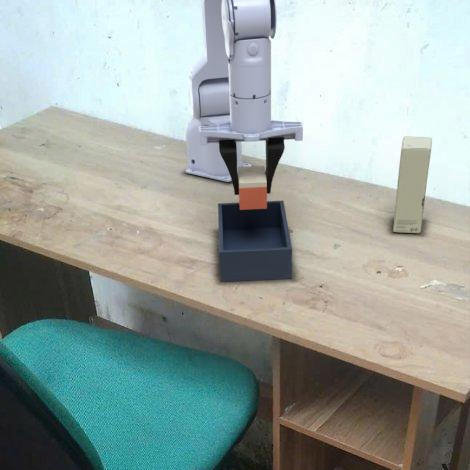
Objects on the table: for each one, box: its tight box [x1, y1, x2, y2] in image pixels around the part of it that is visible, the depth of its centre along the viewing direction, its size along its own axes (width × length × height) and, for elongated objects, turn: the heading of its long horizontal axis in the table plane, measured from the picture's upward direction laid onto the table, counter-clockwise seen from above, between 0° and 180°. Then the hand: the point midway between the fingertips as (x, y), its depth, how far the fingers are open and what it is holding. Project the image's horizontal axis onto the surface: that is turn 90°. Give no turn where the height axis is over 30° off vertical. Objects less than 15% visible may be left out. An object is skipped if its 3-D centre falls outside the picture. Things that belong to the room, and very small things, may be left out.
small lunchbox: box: [238, 165, 268, 210], centre depth 117 cm, size 6×4×4 cm, turn 2°
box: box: [392, 135, 433, 234], centre depth 121 cm, size 5×4×13 cm
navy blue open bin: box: [217, 200, 293, 283], centre depth 119 cm, size 16×10×5 cm, turn 2°
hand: (251, 191), depth 118 cm, fingers closed on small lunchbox, 4 cm apart
